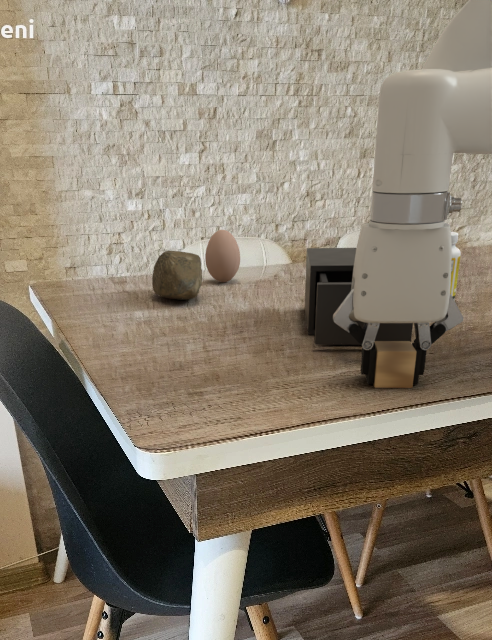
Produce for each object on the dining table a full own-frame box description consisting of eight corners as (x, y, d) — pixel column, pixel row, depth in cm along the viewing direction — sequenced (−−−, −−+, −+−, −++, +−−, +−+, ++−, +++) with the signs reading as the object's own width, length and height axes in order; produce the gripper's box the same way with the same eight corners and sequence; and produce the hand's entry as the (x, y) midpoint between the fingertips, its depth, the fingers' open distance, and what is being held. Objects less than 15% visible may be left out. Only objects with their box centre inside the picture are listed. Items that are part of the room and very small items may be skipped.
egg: (224, 277, 135) (223, 226, 131) (247, 281, 131) (247, 229, 126) (198, 282, 131) (197, 230, 127) (221, 287, 127) (220, 233, 122)
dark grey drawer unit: (404, 334, 94) (411, 264, 90) (307, 334, 95) (310, 265, 91) (388, 309, 108) (394, 247, 104) (304, 309, 109) (306, 248, 105)
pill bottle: (431, 297, 115) (439, 229, 110) (461, 303, 110) (472, 232, 105) (407, 302, 112) (415, 233, 107) (438, 309, 107) (447, 236, 102)
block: (406, 375, 78) (410, 341, 77) (412, 387, 75) (416, 351, 73) (370, 375, 79) (373, 340, 77) (374, 387, 75) (377, 351, 73)
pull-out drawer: (416, 354, 83) (424, 290, 79) (316, 354, 84) (319, 291, 80) (393, 317, 99) (399, 263, 96) (310, 317, 100) (312, 264, 97)
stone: (217, 305, 113) (216, 256, 110) (167, 310, 111) (164, 260, 107) (187, 286, 127) (185, 243, 124) (142, 291, 125) (139, 246, 121)
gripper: (481, 205, 71) (457, 370, 79) (323, 208, 72) (316, 370, 81) (502, 213, 64) (473, 392, 73) (327, 216, 66) (319, 391, 74)
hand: (391, 378), depth 77 cm, fingers closed on block, 4 cm apart
